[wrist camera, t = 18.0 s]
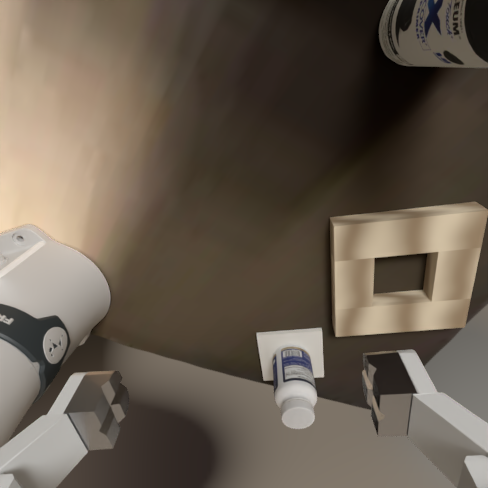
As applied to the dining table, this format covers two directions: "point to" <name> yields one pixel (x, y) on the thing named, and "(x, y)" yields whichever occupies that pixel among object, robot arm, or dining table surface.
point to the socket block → (405, 243)
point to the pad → (301, 337)
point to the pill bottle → (294, 386)
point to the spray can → (436, 33)
